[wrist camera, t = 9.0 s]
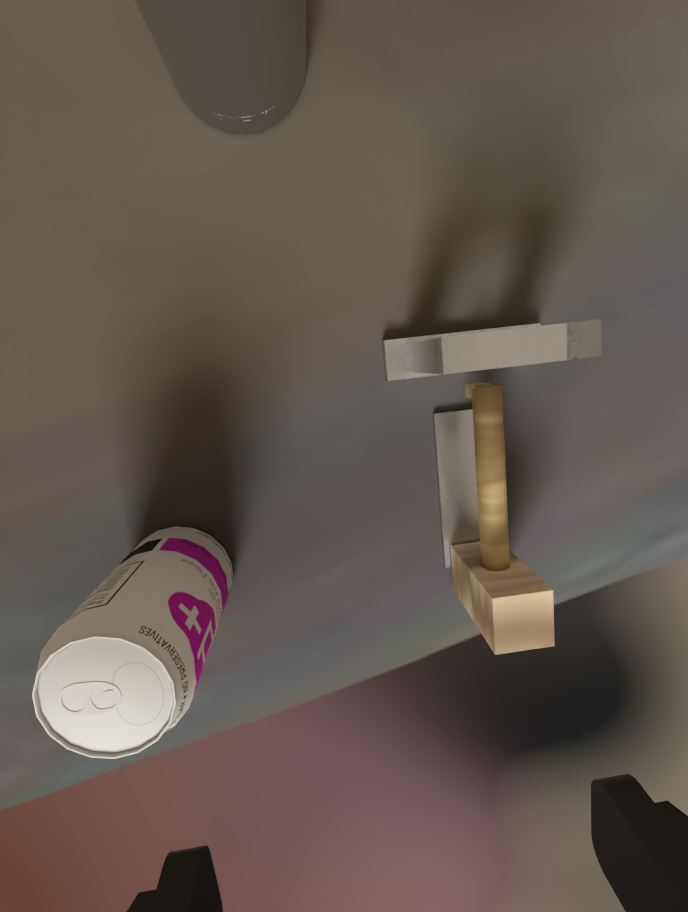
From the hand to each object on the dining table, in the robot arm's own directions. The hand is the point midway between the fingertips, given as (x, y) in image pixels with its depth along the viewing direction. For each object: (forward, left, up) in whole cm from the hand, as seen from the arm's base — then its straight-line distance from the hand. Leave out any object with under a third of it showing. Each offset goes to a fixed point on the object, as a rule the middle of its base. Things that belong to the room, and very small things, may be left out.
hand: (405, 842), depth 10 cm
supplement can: (+5, -13, -29) cm, 32 cm away
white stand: (-2, +11, -29) cm, 31 cm away
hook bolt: (+1, +11, -28) cm, 30 cm away
